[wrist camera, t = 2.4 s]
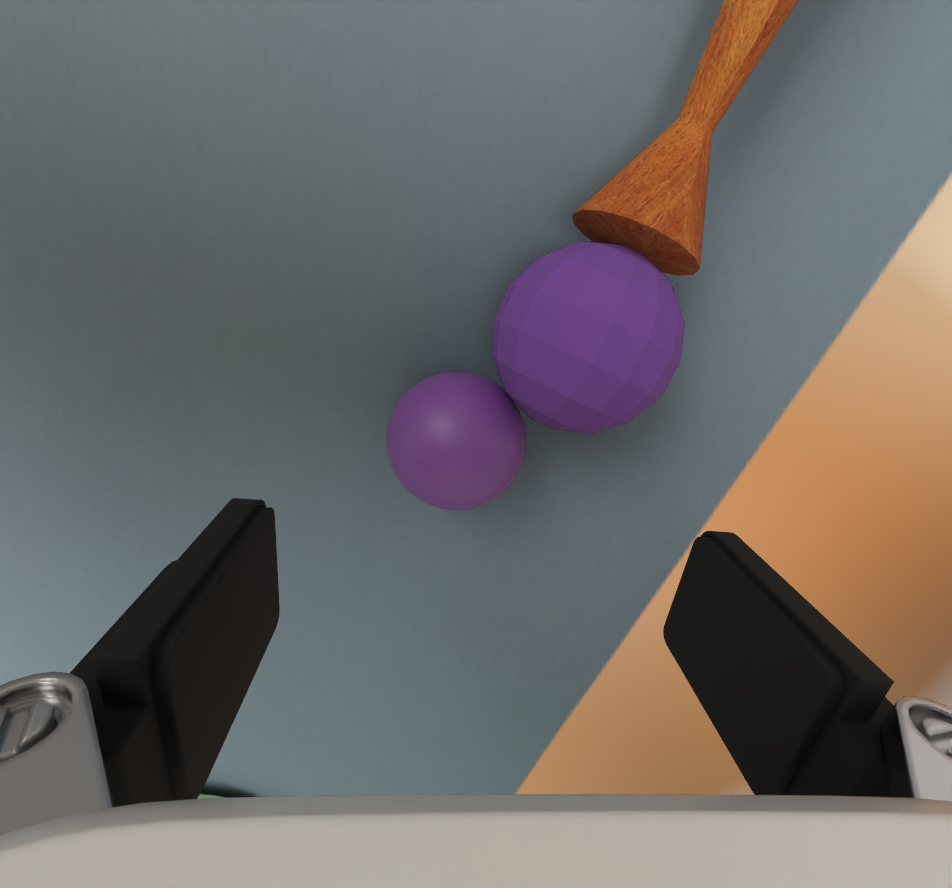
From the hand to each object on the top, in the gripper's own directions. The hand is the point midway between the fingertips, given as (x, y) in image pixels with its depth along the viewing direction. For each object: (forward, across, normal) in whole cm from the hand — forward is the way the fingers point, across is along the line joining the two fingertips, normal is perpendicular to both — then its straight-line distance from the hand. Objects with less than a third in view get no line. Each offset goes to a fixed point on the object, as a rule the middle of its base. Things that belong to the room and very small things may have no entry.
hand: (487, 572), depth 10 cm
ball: (+7, 0, 0) cm, 7 cm away
